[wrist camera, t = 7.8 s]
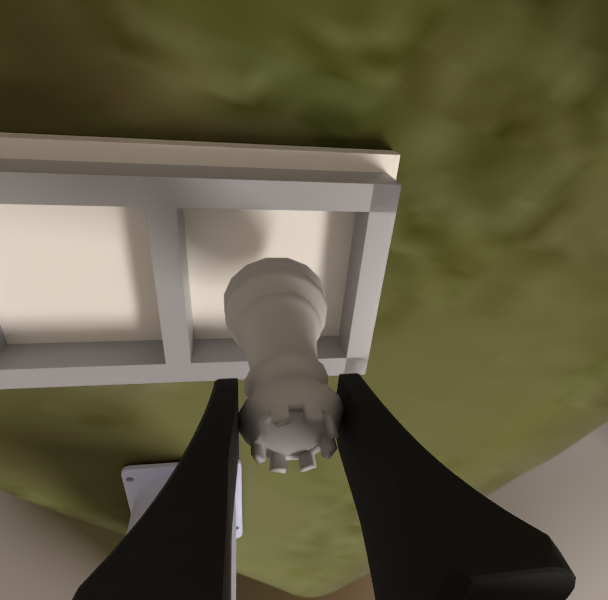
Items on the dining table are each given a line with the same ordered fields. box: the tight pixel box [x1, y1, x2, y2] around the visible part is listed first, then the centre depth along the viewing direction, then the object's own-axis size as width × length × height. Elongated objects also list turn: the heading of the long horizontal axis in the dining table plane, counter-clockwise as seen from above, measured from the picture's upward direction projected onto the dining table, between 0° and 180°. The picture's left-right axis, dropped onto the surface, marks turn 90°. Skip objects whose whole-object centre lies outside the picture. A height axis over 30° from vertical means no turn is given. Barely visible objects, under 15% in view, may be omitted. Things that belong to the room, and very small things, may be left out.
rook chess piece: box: [224, 258, 344, 474], centre depth 15 cm, size 4×4×8 cm
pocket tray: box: [0, 132, 401, 389], centre depth 20 cm, size 12×21×3 cm, turn 86°
